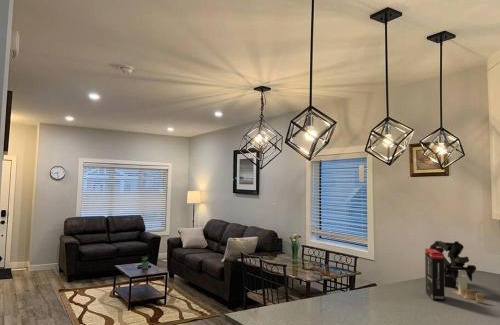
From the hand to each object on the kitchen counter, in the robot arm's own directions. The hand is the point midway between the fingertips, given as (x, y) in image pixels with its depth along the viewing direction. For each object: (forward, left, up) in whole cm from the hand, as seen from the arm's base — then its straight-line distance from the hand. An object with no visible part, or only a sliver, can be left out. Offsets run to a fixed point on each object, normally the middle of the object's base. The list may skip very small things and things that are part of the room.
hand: (463, 280), depth 227 cm
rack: (+4, -11, -8) cm, 15 cm away
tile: (0, +1, -8) cm, 8 cm away
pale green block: (0, +1, -8) cm, 8 cm away
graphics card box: (-18, -17, -9) cm, 26 cm away
